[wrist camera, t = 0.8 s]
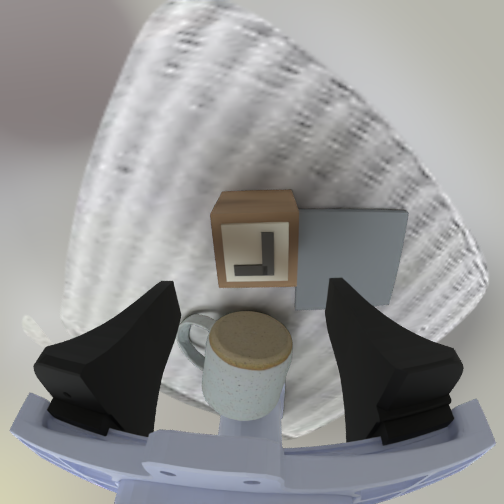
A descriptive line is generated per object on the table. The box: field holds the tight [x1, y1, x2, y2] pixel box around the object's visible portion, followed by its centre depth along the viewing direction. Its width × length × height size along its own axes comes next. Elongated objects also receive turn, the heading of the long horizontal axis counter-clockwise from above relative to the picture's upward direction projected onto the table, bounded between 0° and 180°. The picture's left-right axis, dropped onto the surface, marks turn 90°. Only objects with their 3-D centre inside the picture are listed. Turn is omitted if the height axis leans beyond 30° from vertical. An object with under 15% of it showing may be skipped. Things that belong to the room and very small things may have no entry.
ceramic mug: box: [176, 311, 293, 421], centre depth 23 cm, size 11×8×8 cm
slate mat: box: [295, 209, 409, 310], centre depth 22 cm, size 9×9×1 cm
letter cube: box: [210, 190, 299, 288], centre depth 19 cm, size 5×5×5 cm
